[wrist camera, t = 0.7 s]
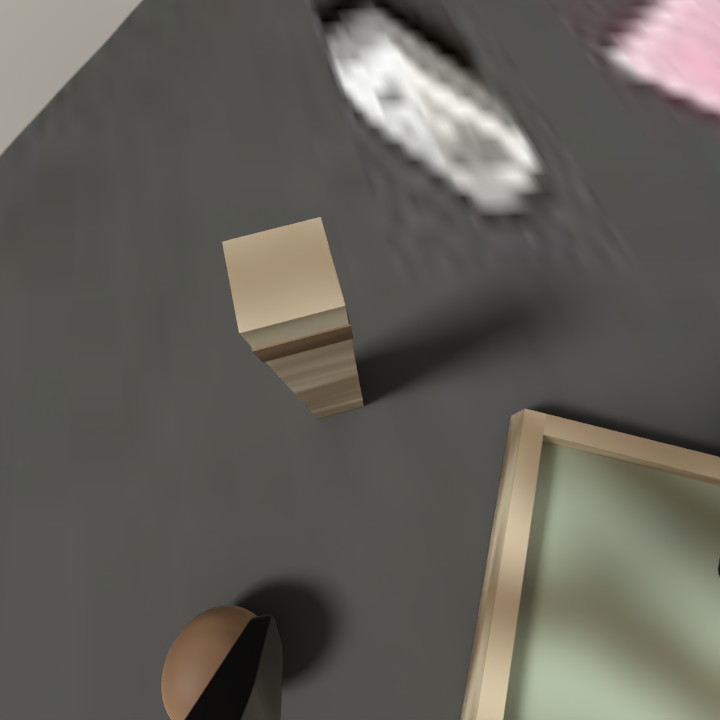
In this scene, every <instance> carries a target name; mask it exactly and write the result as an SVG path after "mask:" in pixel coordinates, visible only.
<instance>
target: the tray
mask: <svg viewBox="0 0 720 720" xmlns="http://www.w3.org/2000/svg"><path fill="white" fill-rule="evenodd" d="M719 557H720V457H718V456H714V455H710V454H706V453H702V452H698V451H694V450H690V449H686V448H681V447H677V446H673V445H669V444H665V443H661V442H657V441H653V440H649V439H645V438H641V437H637V436H633V435H629V434H625V433H621V432H617V431H613V430H609V429H605V428H601V427H597V426H593V425H589V424H585V423H581V422H577V421H573V420H569V419H565V418H561V417H557V416H553V415H549V414H545V413H541V412H537V411H533V410H529V409H523V410H522V411H520V412H518V413H516V414H514V415H512V416H511V419H510V425H509V431H508V437H507V443H506V449H505V455H504V461H503V467H502V473H501V479H500V485H499V491H498V497H497V503H496V509H495V515H494V521H493V527H492V533H491V539H490V545H489V551H488V557H487V563H486V569H485V575H484V581H483V587H482V593H481V599H480V605H479V611H478V617H477V623H476V629H475V635H474V642H473V648H472V654H471V660H470V666H469V672H468V678H467V684H466V690H465V696H464V702H463V708H462V714H461V720H720V577H719V574H718V564H719Z"/></svg>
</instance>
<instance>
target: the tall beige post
mask: <svg viewBox="0 0 720 720" xmlns="http://www.w3.org/2000/svg"><path fill="white" fill-rule="evenodd" d="M222 243H223V249H224V254H225V259H226V265H227V270H228V275H229V281H230V286H231V291H232V297H233V302H234V308H235V313H236V318H237V324H238V329H239V333H240V335H241V336H242V337H243V338H244V339H245V340H246V341H247V342H248V343H249V344H250V345H251V347H252V351H253V353H254V354H255V355H256V356H257V357H258V358H259V359H260V360H261V361H262V362H266V363H267V364H268V365H269V366H270V367H271V368H272V369H273V371H274V372H275V373H276V374H277V375H278V376H279V377H280V378H281V379H282V380H283V381H284V383H285V384H286V385H287V386H288V387H289V388H290V389H291V390H292V391H293V392H294V393H295V395H296V396H297V397H298V398H299V399H300V400H301V401H302V402H303V403H304V404H305V405H306V407H307V408H308V409H309V410H310V411H311V412H312V413H313V414H314V415H315V416H316V417H317V419H318V418H322V417H326V416H329V415H333V414H337V413H340V412H344V411H348V410H351V409H355V408H359V407H363V406H364V405H363V399H362V394H361V388H360V383H359V377H358V372H357V367H356V361H355V356H354V350H353V345H352V340H351V339H353V334H352V329H351V324H350V320H349V317H348V313H347V310H346V306H345V302H344V299H343V295H342V292H341V288H340V284H339V281H338V277H337V274H336V270H335V266H334V263H333V259H332V256H331V252H330V248H329V245H328V242H327V238H326V235H325V231H324V227H323V224H322V220H321V217H319V218H315V219H311V220H307V221H303V222H299V223H295V224H291V225H287V226H283V227H279V228H275V229H271V230H267V231H263V232H259V233H255V234H251V235H247V236H243V237H239V238H235V239H231V240H227V241H223V242H222Z"/></svg>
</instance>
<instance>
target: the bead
mask: <svg viewBox="0 0 720 720" xmlns="http://www.w3.org/2000/svg"><path fill="white" fill-rule="evenodd" d="M253 617H256V615H255V614H254V613H252V612H251V611H249V610H247V609H245V608H242V607H239V606H232V605H226V606H219V607H215V608H212V609H209V610H207V611H205V612H203V613H201V614H199V615H198V616H197V617H195V618H194V619H193V620H192V621H190V622H189V623H188V624H187V625H186V626H185V627H184V628H183V629H182V631H181V632H180V633H179V635H178V636H177V638H176V639H175V640H174V642H173V644H172V646H171V648H170V650H169V652H168V655H167V657H166V660H165V664H164V667H163V673H162V684H161V687H162V698H163V702H164V706H165V709H166V711H167V714H168V715H169V717H170V719H171V720H185V718H186V717H187V715H188V714H189V712H190V710H191V709H192V707H193V706H194V704H195V703H196V701H197V700H198V698H199V697H200V695H201V694H202V692H203V691H204V689H205V688H206V686H207V684H208V683H209V681H210V680H211V678H212V677H213V675H214V674H215V672H216V671H217V669H218V668H219V666H220V665H221V663H222V662H223V660H224V659H225V657H226V655H227V654H228V652H229V651H230V649H231V648H232V646H233V645H234V643H235V642H236V640H237V639H238V637H239V636H240V634H241V633H242V631H243V629H244V628H245V626H246V625H247V623H248V622H249V621H250V619H252V618H253Z"/></svg>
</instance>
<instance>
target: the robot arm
mask: <svg viewBox="0 0 720 720" xmlns="http://www.w3.org/2000/svg"><path fill="white" fill-rule="evenodd" d="M718 574H719V577H720V557H719V564H718ZM282 669H283V648H282V642H281V639H280V636H279V632H278V629H277V625H276V622H275V619H274V617H273V616H272V615H269V614H268V615H262V616H256V617H253V618H252V619H250V621H249V622H248V623H247V625H246V626H245V628H244V629H243V631H242V633H241V634H240V636H239V637H238V639H237V640H236V642H235V643H234V645H233V646H232V648H231V649H230V651H229V652H228V654H227V655H226V657H225V659H224V660H223V662H222V663H221V665H220V666H219V668H218V669H217V671H216V672H215V674H214V675H213V677H212V678H211V680H210V681H209V683H208V684H207V686H206V688H205V689H204V691H203V692H202V694H201V695H200V697H199V698H198V700H197V701H196V703H195V704H194V706H193V707H192V709H191V710H190V712H189V714H188V715H187V717H186V718H185V720H280V718H281V693H282Z"/></svg>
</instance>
